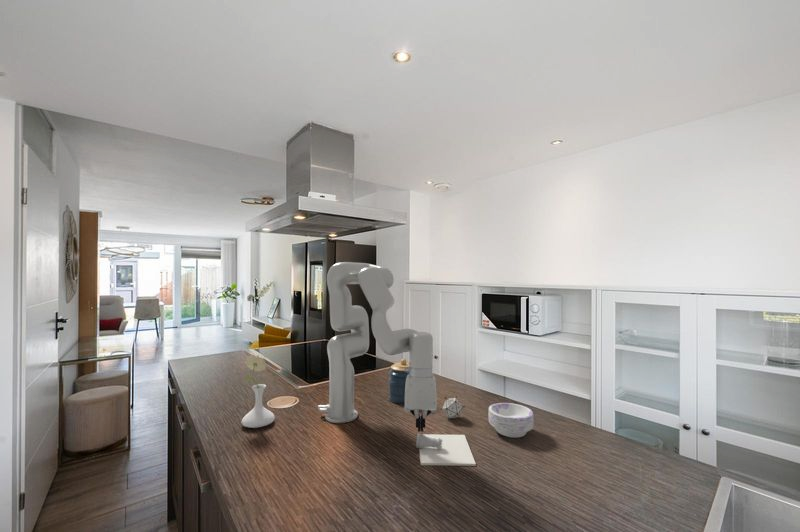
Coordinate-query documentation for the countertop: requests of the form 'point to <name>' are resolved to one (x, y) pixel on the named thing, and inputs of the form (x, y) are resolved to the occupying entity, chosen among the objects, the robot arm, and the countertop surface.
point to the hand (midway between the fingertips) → (420, 429)
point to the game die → (452, 407)
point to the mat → (447, 451)
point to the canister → (398, 381)
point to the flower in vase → (257, 397)
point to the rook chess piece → (428, 442)
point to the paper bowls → (511, 419)
